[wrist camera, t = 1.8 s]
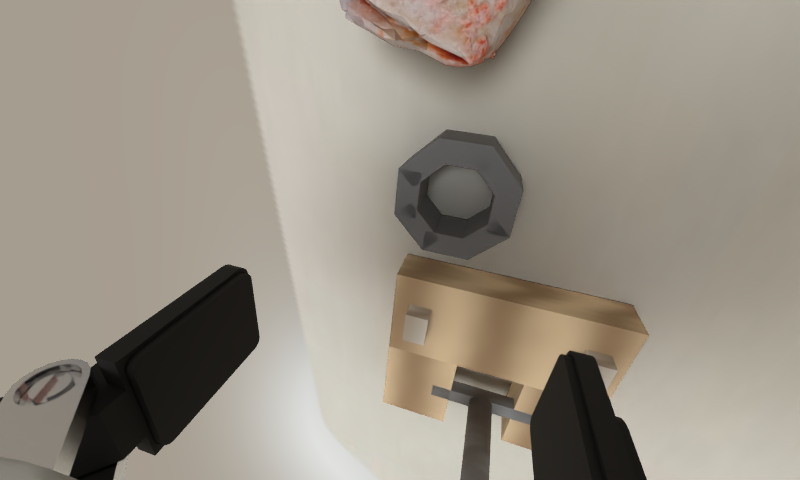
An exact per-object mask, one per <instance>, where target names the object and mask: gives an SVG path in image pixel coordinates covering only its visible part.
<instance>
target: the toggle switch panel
mask: <svg viewBox="0 0 800 480" xmlns="http://www.w3.org/2000/svg"><path fill="white" fill-rule="evenodd" d="M648 336H649V334H648V332H647V331H646V329H645V327H644V325H643V323H642V321H641V319H640V318H639V316H638V314H637V312H636V310H635V308H634V306H633V305H630V304H625V303H621V302H617V301H612V300H608V299H604V298H599V297H595V296H590V295H586V294H582V293H577V292H573V291H568V290H564V289H560V288H555V287H551V286H546V285H542V284H538V283H533V282H529V281H524V280H520V279H516V278H511V277H507V276H502V275H498V274H494V273H489V272H485V271H480V270H476V269H472V268H467V267H463V266H458V265H454V264H450V263H445V262H441V261H436V260H432V259H428V258H423V257H419V256H414V255H410V254H408V255H407V257H406V258H405V260H404V262H403V264H402V266H401V268H400V270H399V272H398V274H397V280H396V289H395V298H394V307H393V316H392V326H391V335H390V344H389V353H388V362H387V371H386V380H385V390H384V399H383V402H385V403H388V404H391V405H394V406H397V407H400V408H403V409H407V410H410V411H413V412H416V413H419V414H422V415H425V416H428V417H431V418H434V419H438V420H441V421H443V419H444V415H445V411H446V408H447V404H448V400H450V401H454V402H457V403H460V404H463V405H467V406H468V415H467V425H466V434H465V443H464V452H463V461H462V470H461V479H460V480H489V465H490V440H491V415H492V413H493V414H496V415H499V416H502V432H501V440H503V441H506V442H509V443H512V444H515V445H518V446H521V447H524V448H527V449H531V437H530V420H531V417H532V414H533V412H534V410H535V407H536V405H537V403H538V401H539V399H540V396H541V394H542V392H543V390H544V388H545V385H546V383H547V381H548V379H549V377H550V374H551V372H552V370H553V368H554V366H555V363H556V361H557V359H558V357H559V355H560V354H564V355H566V354H567V353H568V352H569V351H575V352H579V353H583V354H587V355H591V356H593V357H595V359H596V361H597V364H598V367H599V370H600V373H601V376H602V379H603V381H604V384H605V387H606V390H607V393H608V396H609V399H610V398H611V396H612V394H613V393H614V391H615V390H616V388H617V386H618V385H619V383H620V381H621V380H622V378H623V377H624V375H625V373H626V372H627V370H628V369H629V367H630V365H631V364H632V362H633V360H634V359H635V357H636V356H637V354H638V352H639V351H640V349H641V347H642V346H643V344H644V343H645V341H646V339H647V338H648ZM457 366H460V367H464V368H467V369H470V370H474V371H477V372H481V373H484V374H488V375H491V376H495V377H498V378H502V379H505V380H509V381H512V383H511V386H510V389H509V391H508V394H507V396H503V395H500V394H496V393H493V392H490V391H486V390H483V389H480V388H476V387H473V386H469V385H466V384H463V383H459V382H456V381H453V380H454V376H455V372H456V368H457ZM531 450H532V449H531Z"/></svg>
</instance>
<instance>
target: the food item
mask: <svg viewBox="0 0 800 480" xmlns="http://www.w3.org/2000/svg"><path fill="white" fill-rule="evenodd" d="M530 2H531V0H340V4H341V7H342V10H344V11H345V12H346V17H345V18H346V19H348V20H350V21H351V22H353V23H355V24H356V25H358V26H360V27H362V28H364V29H366V30H368V31H370V32H371V33H373V34H374V35H376V36H377V37H379V38H381V39H383V40H384V41H386V42H388V43H390V44H392V45H393V46H397V47H402V48H407V49H412V50H417V51H421V52H423V53H425V54H427V55H428V56H430V57H432V58H434V59H436V60H438V61H439V62H441V63H443V64H444V65H448V66H455V67H467V66H473V65H476V64H479V63H482V62H484V59H485V58H491V59H494V57H495V55H496V50H497V49H499V47H500V46H501V45H502V44H503V42H504V41H505V39H506V38H507V37H508V35H509V34H510V32H511V31H512V30H513V28H514V27H515V25H516V24H517V22H518V21H519V19H520V18H521V16H522V15H523V13H524V12H525V10H526V9H527V7H528V5H529V4H530Z"/></svg>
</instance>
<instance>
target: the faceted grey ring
mask: <svg viewBox="0 0 800 480" xmlns="http://www.w3.org/2000/svg"><path fill="white" fill-rule="evenodd" d="M444 165H451V166H456V167H462V168H468V169H474V170H477V171H478V172H479V174H480V175H481V176H482V178H483V179H484V181H485V182H486V184H487V185H488V186H489V188H490V189H491V191H492V192H493V196H492V200H491V204H490V207H488V208H487V209H485V210H483V211H482V212H480V213H478V214H477V215H475V216H473V217H471V218H470V219H468V220H465V219H460V218H455V217H450V216H445V215H441V213H440V212H439V211H438V209H437V208H436V207H435V205H434V204H433V203H432V201H431V200H430V199H429V197H428V196H427V188H428V180H429V176H430V175H431V174H433V173H434V172H435V171H437V170H438V169H440V168H441V167H442V166H444ZM522 193H523V186H522V179H521V175H520V174H519V172H518V171H517V169H516V168H515V166H514V165H513V163H512V162H511V160H510V159H509V157H508V156H507V154H506V153H505V151H504V150H503V148H502V147H501V145H500V144H499V142H498V141H497V139H496V138H495V137H494V136H487V135H480V134H473V133H467V132H460V131H453V130H446V131H444V132H443V133H442V134H441V135H439V136H438V137H437V138H435V139H434V140H433V141H431V142H430V143H429V144H428V145H426V146H425V147H424V148H422V149H421V150H420V151H419V152H417V153H416V154H415V155H413V156H412V157H411V158H410V159H409V160H407V161H406V162H405V163H404V164H403V165H402V166H401V167H400V168H399V172H398V182H397V193H396V203H395V215H396V217H397V218H398V219H399V221H400V222H401V223H402V224H403V226H404V227H405V228H406V229H407V231H408V232H409V233H410V235H411V236H412V237H413V238H414V240H415V241H416V242H417V243H418V245H419V246H420V247H421V249H422V250H426V251H431V252H435V253H440V254H444V255H449V256H453V257H458V258H462V259H467V260H468V259H470V258H472V257H474V256H476V255H477V254H479V253H481V252H483V251H485V250H487V249H489V248H491V247H493V246H495V245H497V244H498V243H500V242H502V241H504V240H506V239H508V238H510V234H511V231H512V227H513V224H514V220H515V217H516V213H517V210H518V207H519V203H520V200H521V196H522Z"/></svg>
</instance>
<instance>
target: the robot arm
mask: <svg viewBox="0 0 800 480" xmlns="http://www.w3.org/2000/svg"><path fill="white" fill-rule="evenodd" d="M258 342H259V330H258V322H257V316H256V308H255V301H254V294H253V287H252V280H251V276H250V275H249V274H248V273H247V270H246V269H244V268H240V267H236V266H232V265H225V266H223V267H221V268H220V269H218V270H217V271H216V272H214V273H213V274H211V275H210V276H208V277H207V278H206V279H204V280H203V281H202V282H200V283H199V284H197V285H196V286H194V287H193V288H191V289H190V290H189V291H187V292H186V293H184V294H183V295H182V296H180V297H179V298H177V299H176V300H175V301H173V302H172V303H171V304H169V305H168V306H166V307H165V308H163V309H162V310H160V311H159V312H158V313H156V314H155V315H153V316H152V317H150V318H149V319H148V320H146V321H145V322H143V323H142V324H140V325H139V326H138V327H136V328H135V329H133V330H132V331H131V332H129V333H128V334H126V335H125V336H124V337H122V338H121V339H119V340H118V341H117V342H115V343H114V344H112V345H111V346H109V347H108V348H106V349H105V350H104V351H102V352H101V353H99V354H98V355H97V356H95V359H96V361H97V364H95V365H94V366H93V367H91V368H90V366H89V364H88V363H87V362H85V361H83V360H78V359H68V360H61V361H57V362H54V363H50V364H47V365H45V366H43V367H40V368H38V369H36V370H34V371H33V372H31V373H29V374H27V375H25V376H24V377H22V378H21V379H20V380H19V381H17V382H16V383H15V384H14V385H12V387H11V388H10V389H9V390H8V392H7V393H6V394H5V396H4V397H2V398H0V480H123V478H124V473H125V469H126V465H127V460H128V455H129V453H131V451H132V450H133V449H134V448H135V447H136V446H137V447H138V449H140V450H142V451H145V452H147V453H150V454H153V455H156V454H157V453H158V452H159V451H160V450H161V448H162V447H163V446H164V445H167V444H170V443H171V442H172V441H173V440H174V439H175V438H176V437H177V436H178V435H179V434H180V433H181V432H182V430H183V429H184V428H185V427H186V426H187V425H188V424H189V423H190V422H191V420H192V419H193V418H194V417H195V416H196V415H197V414H198V412H199V411H200V410H201V409H202V408H203V407H204V406H205V404H206V403H207V402H208V401H209V400H210V399H211V398H212V397H213V395H214V394H215V393H216V392H217V391H218V389H220V387H221V386H222V385H223V384H224V383H225V382H226V381H227V380H228V378H229V377H230V376H231V375H232V374H233V373H234V372H235V370H236V369H237V368H238V367H239V366H240V365H241V364H242V362H243V361H244V360H245V359H246V358H247V357H248V356H249V355H250V353H251V352H252V351H253V350H254V349H255V348H256V346H257V344H258ZM530 437H531V449H532V460H533V472H534V480H647V479H646V476H645V474H644V471H643V468H642V465H641V462H640V460H639V457H638V454H637V451H636V449H635V446H634V443H633V440H632V438H631V435H630V432H629V429H628V427H627V425H626V423H625V422H624V421H623V420H622V419H621V418H619V417H616V416H615V414H614V411H613V408H612V405H611V402H610V399H609V396H608V393H607V390H606V387H605V384H604V381H603V379H602V376H601V373H600V370H599V367H598V364H597V361H596V359H595V357H593V356H591V355H587V354H583V353H579V352H575V351H569V352H568V353H567V354H566V355H564V354H560V355H559V357H558V359H557V361H556V363H555V366H554V368H553V370H552V372H551V374H550V377H549V379H548V381H547V383H546V385H545V388H544V390H543V392H542V394H541V396H540V399H539V401H538V403H537V405H536V407H535V410H534V412H533V414H532V417H531V420H530Z"/></svg>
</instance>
